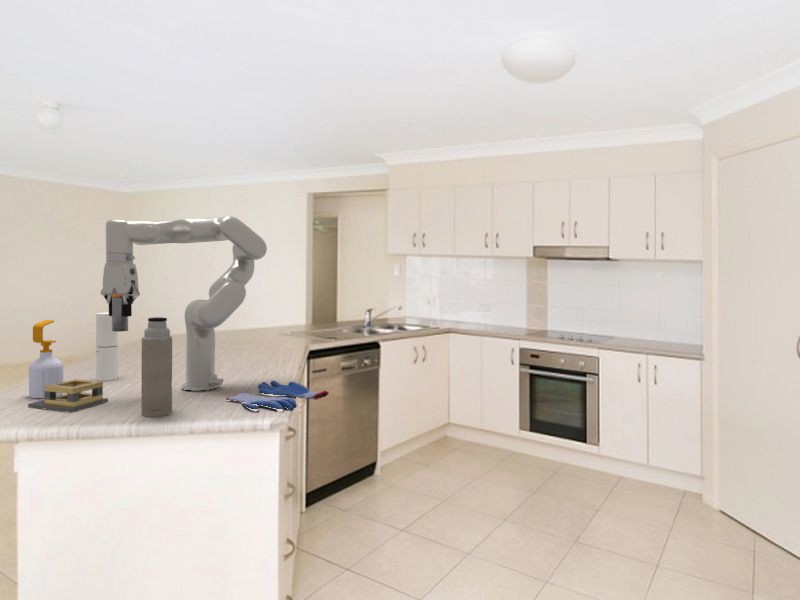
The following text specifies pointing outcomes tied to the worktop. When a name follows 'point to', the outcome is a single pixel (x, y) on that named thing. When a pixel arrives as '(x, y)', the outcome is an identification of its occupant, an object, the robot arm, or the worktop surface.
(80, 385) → the tan frame fixture
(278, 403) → the pair of gloves
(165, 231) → the robot arm
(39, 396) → the soap bottle
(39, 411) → the worktop surface
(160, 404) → the thermos bottle
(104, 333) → the cylindrical container
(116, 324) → the tube
